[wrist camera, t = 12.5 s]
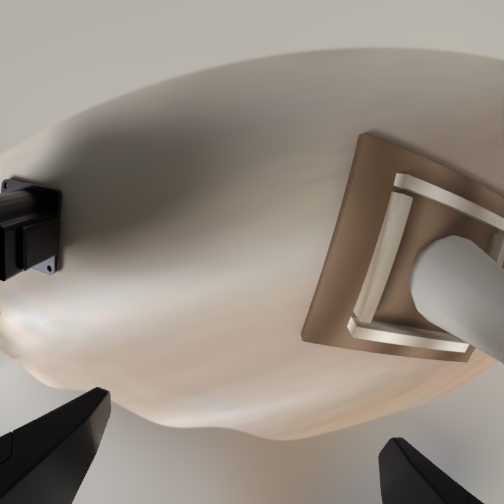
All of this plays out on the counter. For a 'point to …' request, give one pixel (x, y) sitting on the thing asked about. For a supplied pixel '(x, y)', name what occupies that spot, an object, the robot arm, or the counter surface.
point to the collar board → (396, 252)
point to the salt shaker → (461, 292)
